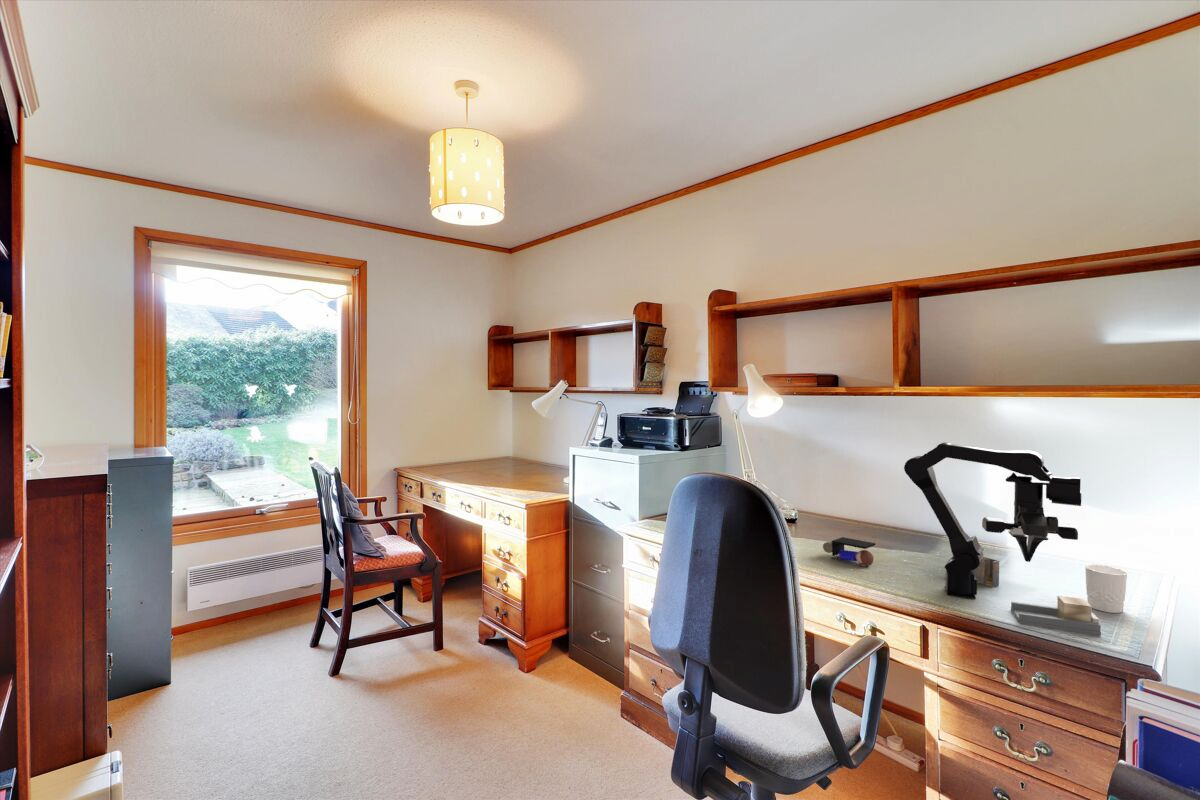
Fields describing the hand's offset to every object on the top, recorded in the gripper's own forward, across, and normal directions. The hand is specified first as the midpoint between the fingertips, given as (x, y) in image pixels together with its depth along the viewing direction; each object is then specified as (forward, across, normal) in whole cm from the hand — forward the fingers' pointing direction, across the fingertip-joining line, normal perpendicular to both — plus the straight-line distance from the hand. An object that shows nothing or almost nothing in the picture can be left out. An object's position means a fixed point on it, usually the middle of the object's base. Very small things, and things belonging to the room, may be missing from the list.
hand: (1027, 561), depth 142 cm
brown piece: (+13, -8, +18) cm, 24 cm away
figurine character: (+12, -42, +22) cm, 49 cm away
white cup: (+12, +18, +8) cm, 23 cm away
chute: (+12, +4, -8) cm, 15 cm away
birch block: (+11, +7, -8) cm, 16 cm away
